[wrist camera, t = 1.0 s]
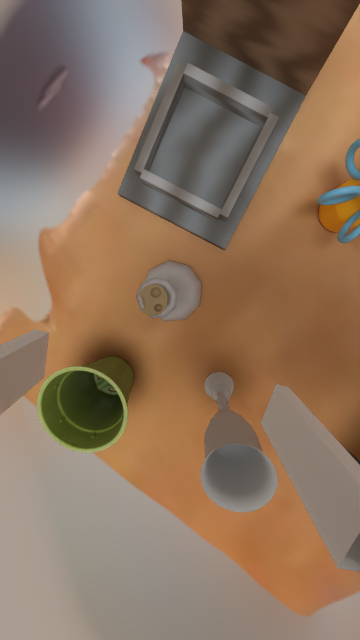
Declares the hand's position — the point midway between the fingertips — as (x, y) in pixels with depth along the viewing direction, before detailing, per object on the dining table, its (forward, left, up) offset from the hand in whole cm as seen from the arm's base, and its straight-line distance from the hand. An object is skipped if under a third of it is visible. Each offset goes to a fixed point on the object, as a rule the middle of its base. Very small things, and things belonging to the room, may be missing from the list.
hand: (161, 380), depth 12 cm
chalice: (-11, +8, -24) cm, 28 cm away
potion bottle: (+3, -3, -24) cm, 24 cm away
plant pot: (+6, +15, -24) cm, 29 cm away
